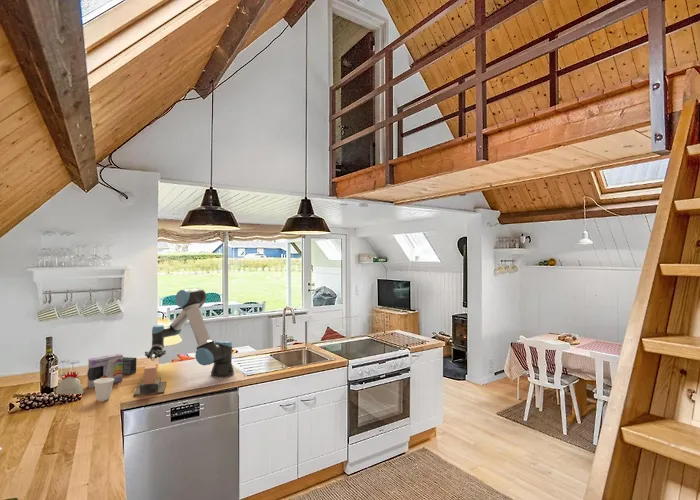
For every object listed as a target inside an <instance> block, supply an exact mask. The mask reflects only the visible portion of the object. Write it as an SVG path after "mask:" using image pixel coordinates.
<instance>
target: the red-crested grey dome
mask: <svg viewBox="0 0 700 500" xmlns="http://www.w3.org/2000/svg"><path fill="white" fill-rule="evenodd" d="M76 372H77V371H76V370H74V373H73V371H72V370H71V371H70V372H69V371H67V374H66V373H64V377H63V376H62V375H61V376H60V377H61V379H62V380H61V381H59V383H58V384H57V386H56V388H55V391H56V393H58V394H81V395H82V397H84V388H83V384H82V381H80V380H79V379H78V378H77V377H78V375H79V372H77V373H76Z"/></svg>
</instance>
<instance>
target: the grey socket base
mask: <svg viewBox="0 0 700 500" xmlns="http://www.w3.org/2000/svg"><path fill="white" fill-rule="evenodd" d="M166 386H167V381H162V376H159V377H157V381H156V384H144V380H143V381H142V383H140V382H139V383H137V386H136V388H135V390H134V393H133V397H134V398H136V397H145V396H154V395H164V394H165V391H166ZM133 397H132V398H133Z"/></svg>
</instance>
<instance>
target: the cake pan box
mask: <svg viewBox="0 0 700 500" xmlns="http://www.w3.org/2000/svg"><path fill="white" fill-rule="evenodd" d="M123 357H124V356H123V354H122V353H116V354H109V355H102V356H97V357H92V358H88V362H87V363H88V364H87V365H88V370H87V372H86V373H87V387H88V388H89V389H93V388H95V385H94V381H95V380H97V379H101V378H114V381H113V384H115V383H116V384H117V383H120V382H123V375H122V370H123Z"/></svg>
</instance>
